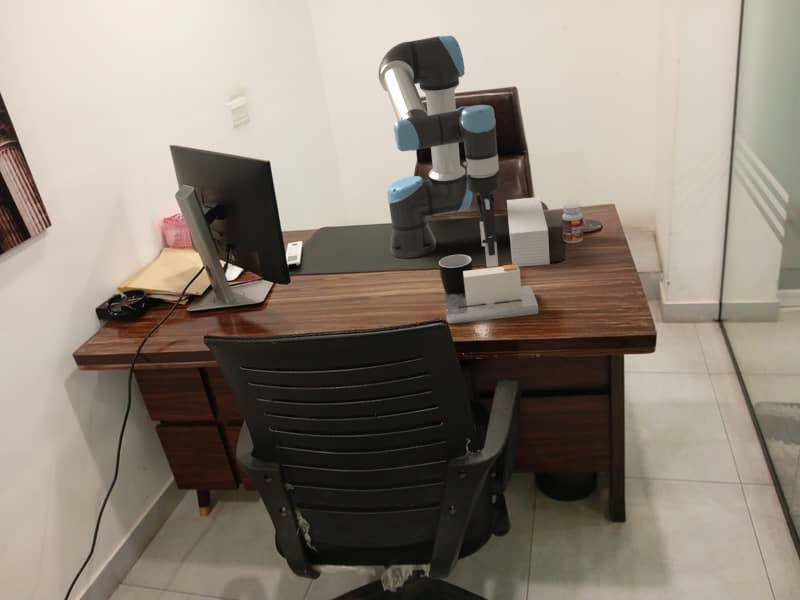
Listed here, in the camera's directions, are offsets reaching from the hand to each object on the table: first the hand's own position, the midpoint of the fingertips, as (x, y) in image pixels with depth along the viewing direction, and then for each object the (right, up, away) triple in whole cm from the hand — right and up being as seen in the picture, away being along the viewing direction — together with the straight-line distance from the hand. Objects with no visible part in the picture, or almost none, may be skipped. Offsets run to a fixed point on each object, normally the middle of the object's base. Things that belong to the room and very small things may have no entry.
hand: (489, 255), depth 168 cm
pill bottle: (+32, +7, +41) cm, 52 cm away
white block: (+2, -13, +6) cm, 14 cm away
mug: (-6, -9, +18) cm, 21 cm away
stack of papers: (+18, +5, +42) cm, 46 cm away
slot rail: (+1, -13, +6) cm, 15 cm away
